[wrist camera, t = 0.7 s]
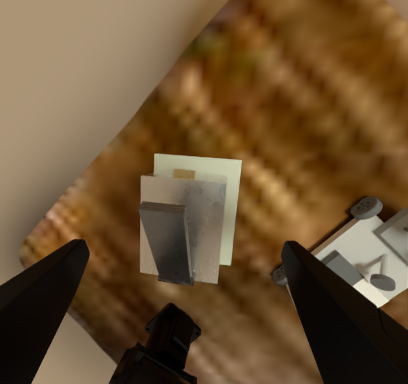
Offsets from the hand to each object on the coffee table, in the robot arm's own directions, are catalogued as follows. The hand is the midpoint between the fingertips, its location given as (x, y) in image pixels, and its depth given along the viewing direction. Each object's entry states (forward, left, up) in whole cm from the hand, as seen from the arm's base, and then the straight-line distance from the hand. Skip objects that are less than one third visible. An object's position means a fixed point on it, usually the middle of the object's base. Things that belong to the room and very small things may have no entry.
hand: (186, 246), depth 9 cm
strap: (-4, 0, -7) cm, 8 cm away
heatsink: (-4, 0, -17) cm, 17 cm away
